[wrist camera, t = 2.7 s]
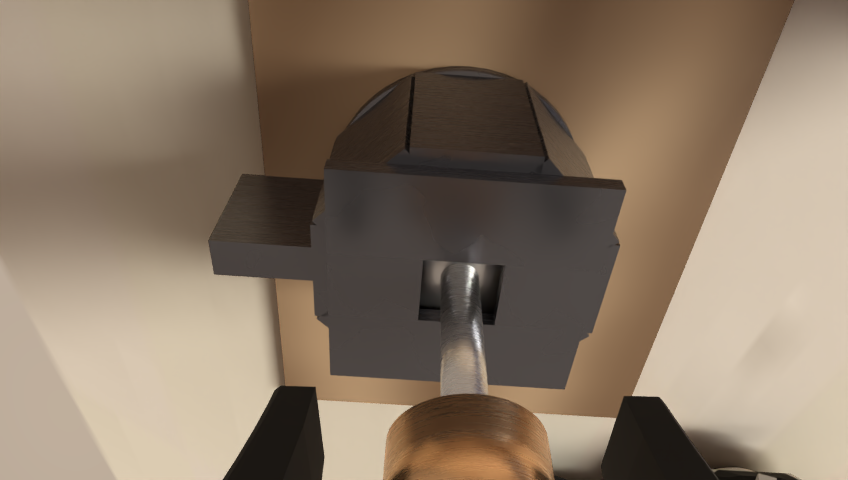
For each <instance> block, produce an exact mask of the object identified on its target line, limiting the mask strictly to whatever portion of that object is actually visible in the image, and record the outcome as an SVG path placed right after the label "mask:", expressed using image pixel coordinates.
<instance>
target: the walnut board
mask: <svg viewBox="0 0 848 480" xmlns="http://www.w3.org/2000/svg"><path fill="white" fill-rule="evenodd" d="M793 3H794V0H248V5H249V15H250V25H251V36H252V46H253V56H254V67H255V77H256V88H257V98H258V108H259V119H260V129H261V139H262V150H263V160H264V170H265V176H277V177H292V178H306V179H320V180H323V179H324V166H325V163H326V160H327V159H330V156H331V152H332V149H333V146H334V142H335V140H336V137H337V136H338V135H339V134H340V133H342V132H343V131H344V130H345V129H346V128H347V126H348V124H349V123H350V121H351V120H352V118H353V117H354V116H355V114H356V113H357V112H358V110H359V109H360V108H361V107H362V106H363V105H364V104H365V103H366V102H367V101H368V100H369V99H370V98H371V97H372V96H374V95H375V94H376V93H378V92H379V91H380V90H382V89H383V88H385V87H386V86H388V85H390V84H392V83H393V82H395V81H397V80H399V79H401V78H404V77H406V76H409V75H410V74H414V73H416V72H420V71H424V70H428V69H432V68H440V67H448V66H470V67H478V68H485V69H489V70H493V71H497V72H500V73H504V74H506V75H509V76H511V77H513V78H516V79H518V80H523V82H524V83H526V82H527V83H528V84H529V85H530V87H532V88H534V89H535V90H536V91H538V92H539V93H540V94H541V95H542V96H544V97H545V98H546V99H547V100H548V101H549V102H550V103H551V104H552V105H553V106H554V107H555V108H556V109H557V111H558V112H559V113H560V115H561V116H562V118H563V119H564V121H565V122H566V124H567V126H568V128H569V130H570V132H571V135H572V137H573V139H574V142H575V143H576V144H577V145H578V147H579V148H580V149H581V150H582V152H583V153H584V154H585V156H586V159H587V161H588V164H589V166H590V169H591V171H592V174H593V176H594V178H602V179H616V180H622V181H623V184H624V186H625V188H626V190H627V191H626V194H625V197H624V200H623V203H622V207H621V210H620V213H619V216H618V220H617V223H616V226H615V232H616V234H617V237H618V239H619V244H620V248H619V251H618V255H617V258H616V261H615V264H614V267H613V270H612V273H611V276H610V279H609V282H608V285H607V289H606V292H605V295H604V298H603V301H602V304H601V307H600V310H599V313H598V316H597V319H596V323H595V326H594V329H593V332H592V333H589V337H587V338H585V339H583V340H581V341H580V342H579V345H578V349H577V352H576V355H575V358H574V361H573V365H572V368H571V371H570V374H569V378H568V381H567V384H566V387H565V390H563V389H546V388H530V387H514V386H498V385H488V395H490V396H495V397H500V398H503V399H506V400H509V401H512V402H514V403H517V404H519V405H521V406H522V407H524V408H526V409H527V410H529V411H530V412H531V413H544V414H561V415H577V416H594V417H610V418H617V415H618V412H619V409H620V406H621V403H622V400H623V397H624V396H632V394H633V392H634V389H635V387H636V384H637V382H638V379H639V377H640V375H641V372H642V370H643V367H644V365H645V362H646V360H647V357H648V355H649V353H650V350H651V348H652V345H653V343H654V340H655V338H656V336H657V333H658V331H659V328H660V326H661V323H662V321H663V319H664V316H665V314H666V311H667V309H668V306H669V304H670V302H671V299H672V297H673V294H674V292H675V289H676V287H677V285H678V282H679V280H680V277H681V275H682V272H683V270H684V268H685V265H686V263H687V260H688V258H689V255H690V253H691V251H692V248H693V246H694V243H695V241H696V238H697V236H698V234H699V231H700V229H701V226H702V224H703V221H704V219H705V217H706V214H707V212H708V209H709V207H710V204H711V202H712V200H713V197H714V195H715V192H716V190H717V187H718V185H719V183H720V180H721V178H722V175H723V173H724V170H725V168H726V166H727V163H728V161H729V158H730V156H731V153H732V151H733V149H734V146H735V144H736V141H737V139H738V136H739V134H740V132H741V129H742V127H743V124H744V122H745V119H746V117H747V115H748V112H749V110H750V107H751V105H752V102H753V100H754V97H755V95H756V93H757V90H758V88H759V85H760V83H761V80H762V78H763V76H764V73H765V71H766V68H767V66H768V63H769V61H770V59H771V56H772V54H773V51H774V49H775V46H776V44H777V42H778V39H779V37H780V34H781V32H782V29H783V27H784V25H785V22H786V20H787V17H788V15H789V12H790V10H791V8H792V5H793ZM275 284H276V294H277V305H278V315H279V325H280V336H281V346H282V356H283V367H284V377H285V386H307V387H316V394H317V400H331V401H347V402H364V403H380V404H397V405H413V406H415V405H417V404H419V403H421V402H424V401H427V400H430V399H433V398H437V397H441V382H433V381H417V380H401V379H385V378H369V377H352V376H336V375H330V354H329V328H328V327H327V326H325V325H324V324H323V323H321V322H320V321H319V320H317V319H316V318H317V316H315V314H314V294H313V281H308V280H293V279H278V278H275Z"/></svg>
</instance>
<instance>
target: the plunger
mask: <svg viewBox="0 0 848 480" xmlns="http://www.w3.org/2000/svg"><path fill="white" fill-rule="evenodd" d="M501 269H502V265H489V264H474V263H459V262H444V261H429V260H423V269H422V280H421V292H420V303H419V309H431V310H440V349H441V397H437V398H433V399H430V400H427V401H424V402H421V403H419V404H417V405H415V406H413V407H411V408H410V409H408V410H407V411H405V412H404V413H403V414H402V415H400V416H399V417H398V418H397V419H396V420H395V422H394V423H393V424H392V426H391V428H390V429H389V432H388V434H387V439H386V449H385V461H384V474H383V480H555V478H554V472H553V466H552V460H551V454H550V448H549V442H548V437H547V433H546V430H545V428H544V426H543V424H542V423H541V422H540V420H539V419H538V418H537V417H536V416H535V415H534V414H533V413H531V412H530V411H529V410H527V409H526V408H524V407H522V406H521V405H519V404H517V403H514V402H512V401H509V400H506V399H503V398H500V397H495V396H490V395H488V383H487V370H486V358H485V346H484V334H483V321H482V313H493V312H494V307H495V301H496V296H497V290H498V285H499V280H500V274H501Z"/></svg>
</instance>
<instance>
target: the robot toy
mask: <svg viewBox="0 0 848 480" xmlns="http://www.w3.org/2000/svg"><path fill="white" fill-rule="evenodd" d="M712 471H713V472H714V473H715V475H716V476H717V477H718V479H719V480H801V479H799V478H797V477H796V476H794V475H792V474H786V473H769V472H754V471H752V470H749V469H744V468H738V467H729V468H718V469H712ZM554 478H555V480H566V479H563V478H560V477H558V476H555V475H554Z"/></svg>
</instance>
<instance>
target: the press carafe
mask: <svg viewBox="0 0 848 480" xmlns="http://www.w3.org/2000/svg"><path fill="white" fill-rule="evenodd" d="M626 191H627V190H626V188H625V186H624V184H623V181H622V180H616V179H602V178H594V176H593V174H592V171H591V169H590V166H589V164H588V161H587V159H586V156H585V154H584V153H583V152H582V150H581V149H580V148H579V147H578V145H577V144H576V143H575V142H574V139H573V137H572V135H571V132H570V130H569V128H568V126H567V124H566V122H565V121H564V119H563V118H562V116H561V115H560V113H559V112H558V111H557V109H556V108H555V107H554V106H553V105H552V104H551V103H550V102H549V101H548V100H547V99H546V98H545V97H544V96H542V95H541V94H540V93H539V92H538V91H536V90H535V89H534V88H532V87H530V85H529V84H528V83H527V82H526V83H524V82H523V80H518V79H516V78H513V77H511V76H509V75H506V74H504V73H500V72H497V71H493V70H489V69H485V68H478V67H470V66H448V67H440V68H432V69H428V70H424V71H420V72H416V73H414V74H410V75H409V76H406V77H404V78H401V79H399V80H397V81H395V82H393V83H392V84H390V85H388V86H386V87H385V88H383V89H382V90H380V91H379V92H378V93H376V94H375V95H374V96H372V97H371V98H370V99H369V100H368V101H367V102H366V103H365V104H364V105H363V106H362V107H361V108H360V109H359V110H358V112H357V113H356V114H355V116H354V117H353V118H352V120H351V121H350V123H349V124H348V126H347V128H346V129H345V130H344V131H343V132H342V133H340V134H339V135H338V136H337V137H336V140H335V142H334V146H333V149H332V152H331V156H330V159H327V160H326V163H325V166H324V179H323V180H320V179H306V178H292V177H277V176H263V175H249V174H242V176H241V178H240V180H239V181H238V183H237V185H236V187H235V189H234V191H233V193H232V195H231V197H230V199H229V201H228V203H227V205H226V207H225V209H224V211H223V213H222V215H221V217H220V219H219V221H218V223H217V225H216V227H215V229H214V230H213V232H212V234H211V236H210V238H209V240H208V241H209V247H210V253H211V259H212V265H213V270H214V274H217V275H232V276H247V277H262V278H278V279H293V280H308V281H313V294H314V314H315V316H317V318H316V319H317V320H319V321H320V322H321V323H323V324H324V325H325V326H327V327H328V328H329V354H330V375H336V376H352V377H369V378H385V379H401V380H417V381H433V382H441V349H440V310H431V309H419V303H420V292H421V280H422V269H423V260H429V261H444V262H459V263H474V264H489V265H502V269H501V274H500V280H499V285H498V290H497V296H496V301H495V307H494V312H493V313H482V321H483V334H484V346H485V358H486V370H487V383H488V385H498V386H514V387H530V388H546V389H563V390H565V387H566V384H567V381H568V378H569V374H570V371H571V368H572V365H573V361H574V358H575V355H576V352H577V349H578V345H579V342H580V341H581V340H583V339H585V338H587V337H589V333H592V332H593V329H594V326H595V323H596V319H597V316H598V313H599V310H600V307H601V304H602V301H603V298H604V295H605V292H606V289H607V285H608V282H609V279H610V276H611V273H612V270H613V267H614V264H615V261H616V258H617V255H618V251H619V248H620V244H619V239H618V237H617V234H616V232H615V226H616V223H617V220H618V216H619V213H620V210H621V207H622V203H623V200H624V197H625V194H626Z"/></svg>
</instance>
